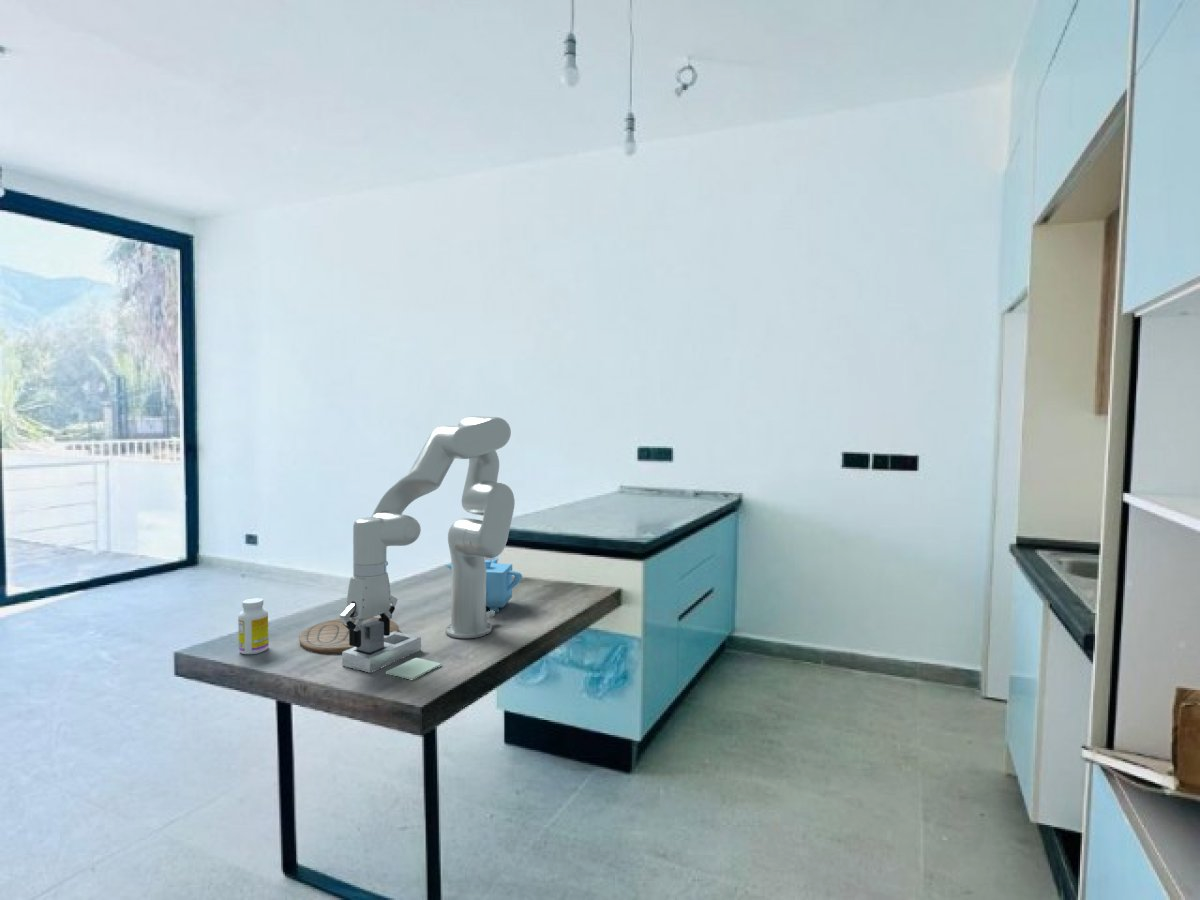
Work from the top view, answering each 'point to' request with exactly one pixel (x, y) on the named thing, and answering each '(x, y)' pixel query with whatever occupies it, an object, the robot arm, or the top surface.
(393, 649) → the grey cinder block
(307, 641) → the trivet
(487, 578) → the teakettle
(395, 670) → the sage pad
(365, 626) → the zinc peg
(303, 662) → the top surface
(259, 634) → the supplement bottle
